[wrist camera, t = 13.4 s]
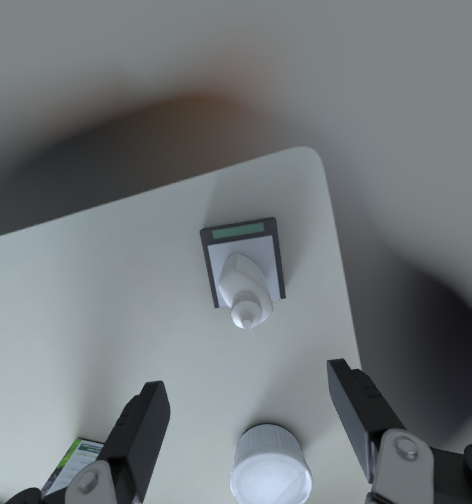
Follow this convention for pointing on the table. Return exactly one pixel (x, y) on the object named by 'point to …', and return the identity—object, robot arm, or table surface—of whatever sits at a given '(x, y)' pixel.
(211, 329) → the table surface
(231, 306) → the eye dropper bottle
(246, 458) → the ramekin
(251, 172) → the table surface
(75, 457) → the syrup box
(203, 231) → the kitchen scale
